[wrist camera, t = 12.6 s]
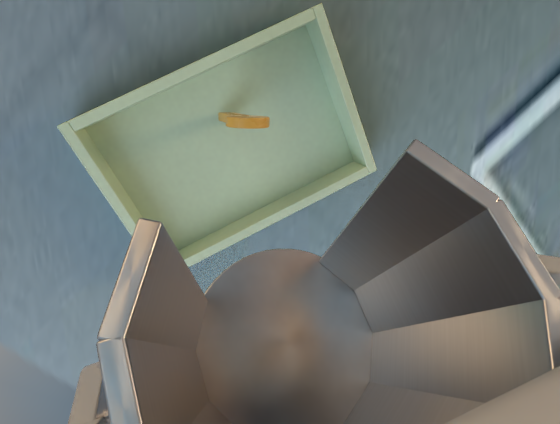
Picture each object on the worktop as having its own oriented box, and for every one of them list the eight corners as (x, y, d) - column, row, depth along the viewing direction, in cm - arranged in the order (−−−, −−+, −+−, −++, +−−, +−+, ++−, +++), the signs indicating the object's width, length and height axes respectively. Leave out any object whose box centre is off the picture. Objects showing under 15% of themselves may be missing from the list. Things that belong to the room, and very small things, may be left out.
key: (276, 128, 17) (276, 118, 17) (233, 129, 17) (233, 118, 16) (243, 120, 22) (243, 112, 22) (208, 120, 21) (207, 112, 21)
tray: (164, 263, 24) (162, 281, 22) (71, 122, 20) (55, 126, 18) (360, 163, 25) (377, 170, 23) (307, 12, 21) (322, 2, 19)
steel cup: (407, 402, 13) (679, 474, 5) (222, 490, 12) (175, 804, 3) (331, 230, 16) (432, 88, 7) (168, 285, 14) (65, 180, 6)
